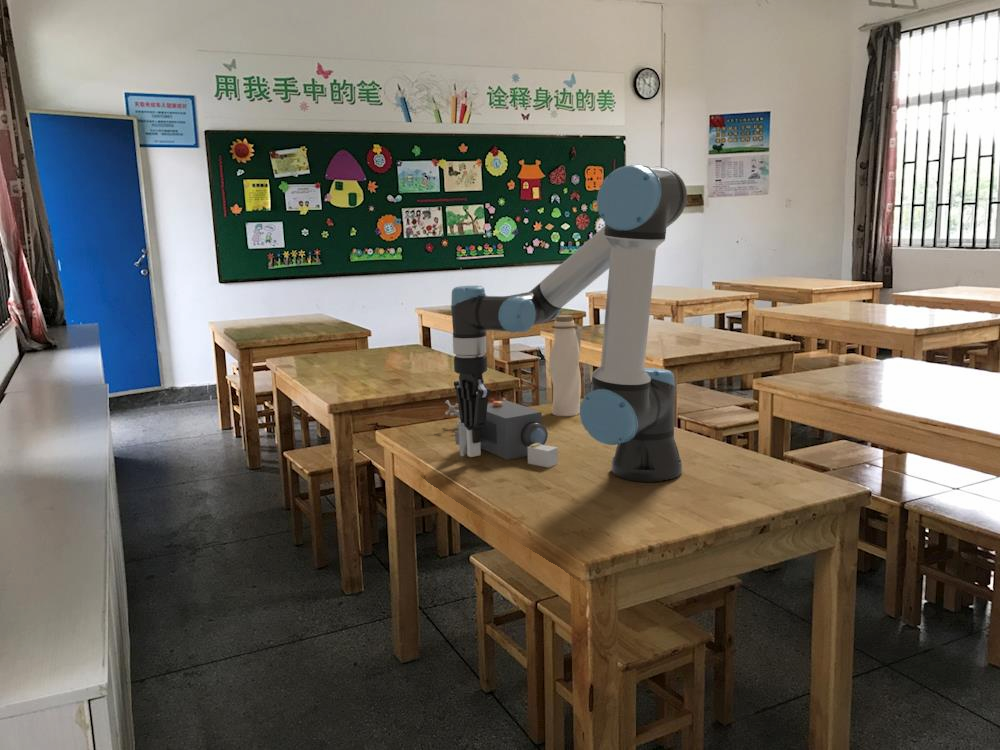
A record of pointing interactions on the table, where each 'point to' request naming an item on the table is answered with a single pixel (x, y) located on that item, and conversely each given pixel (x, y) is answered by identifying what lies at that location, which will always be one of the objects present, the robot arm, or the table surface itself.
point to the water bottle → (565, 366)
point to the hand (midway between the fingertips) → (474, 455)
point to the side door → (461, 438)
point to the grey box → (511, 429)
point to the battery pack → (542, 455)
